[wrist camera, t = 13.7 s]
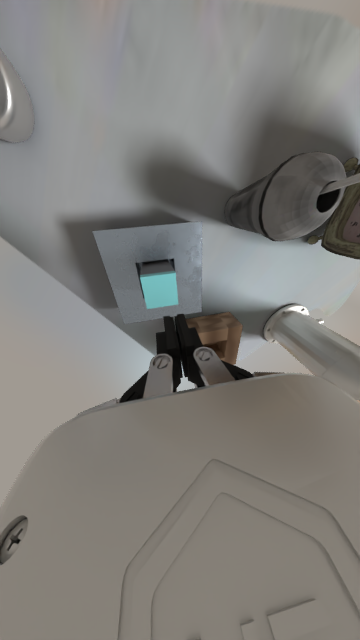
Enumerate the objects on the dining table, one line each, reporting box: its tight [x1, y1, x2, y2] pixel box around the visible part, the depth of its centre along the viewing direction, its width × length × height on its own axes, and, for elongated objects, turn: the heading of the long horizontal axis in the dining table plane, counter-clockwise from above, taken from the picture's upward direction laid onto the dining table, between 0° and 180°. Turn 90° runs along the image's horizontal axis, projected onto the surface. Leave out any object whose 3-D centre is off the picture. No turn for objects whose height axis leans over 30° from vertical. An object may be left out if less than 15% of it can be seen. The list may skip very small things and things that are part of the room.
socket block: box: [92, 221, 202, 324], centre depth 26 cm, size 14×14×6 cm
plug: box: [140, 259, 178, 309], centre depth 22 cm, size 4×4×11 cm
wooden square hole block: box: [186, 312, 243, 365], centre depth 37 cm, size 12×12×6 cm
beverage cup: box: [224, 152, 360, 241], centre depth 17 cm, size 7×7×20 cm
